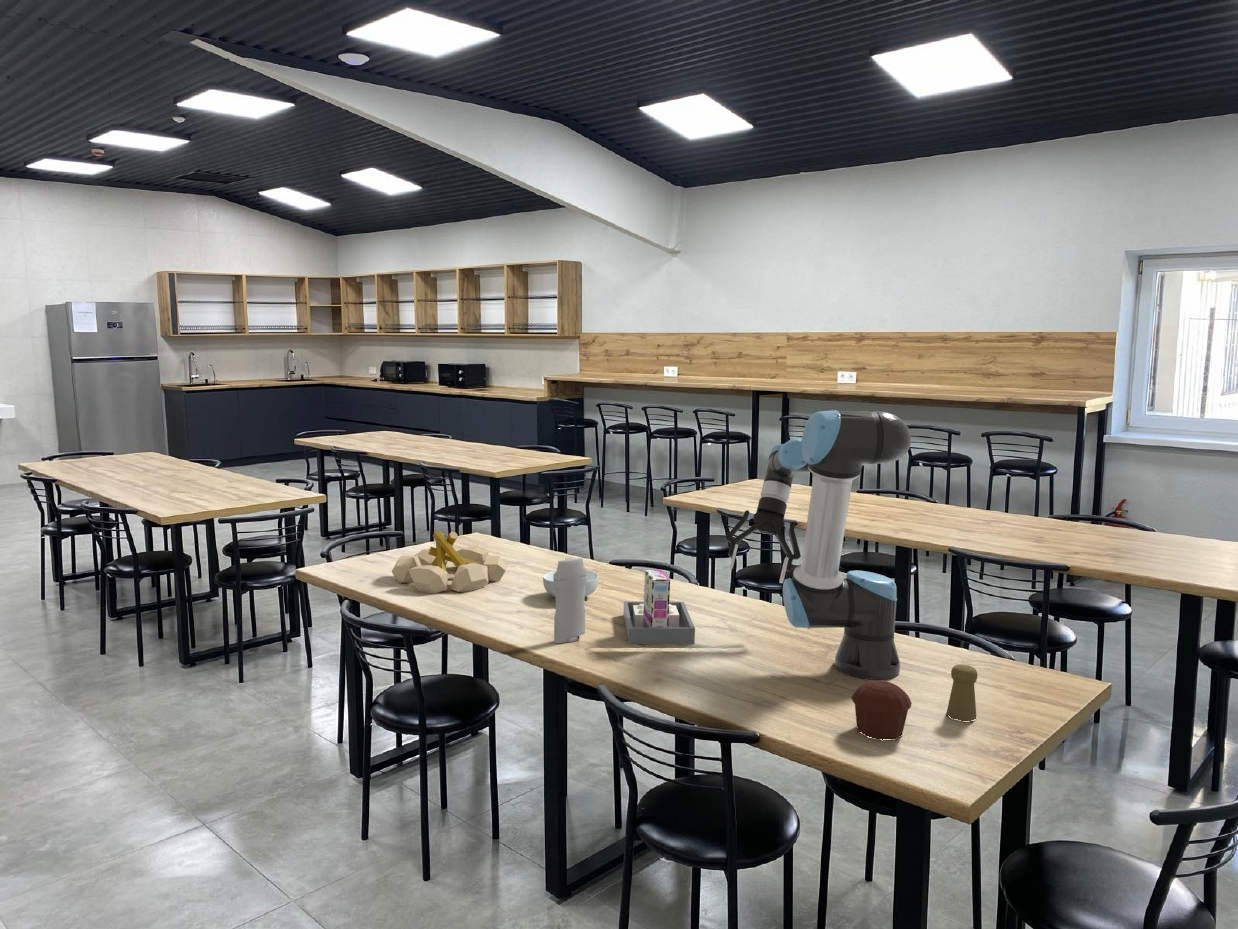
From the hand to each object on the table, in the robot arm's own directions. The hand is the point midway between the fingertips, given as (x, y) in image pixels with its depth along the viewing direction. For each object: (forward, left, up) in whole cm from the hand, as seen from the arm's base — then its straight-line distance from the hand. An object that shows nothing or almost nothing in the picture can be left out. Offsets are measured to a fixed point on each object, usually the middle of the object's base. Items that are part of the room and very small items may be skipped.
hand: (755, 575), depth 234 cm
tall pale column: (-2, +49, -17) cm, 52 cm away
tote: (+4, +26, -17) cm, 31 cm away
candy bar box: (-1, +26, -16) cm, 31 cm away
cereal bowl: (+37, +49, -17) cm, 64 cm away
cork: (-51, -34, -17) cm, 64 cm away
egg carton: (+9, +26, -16) cm, 31 cm away
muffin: (-58, -14, -17) cm, 62 cm away
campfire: (+57, +88, -17) cm, 107 cm away
